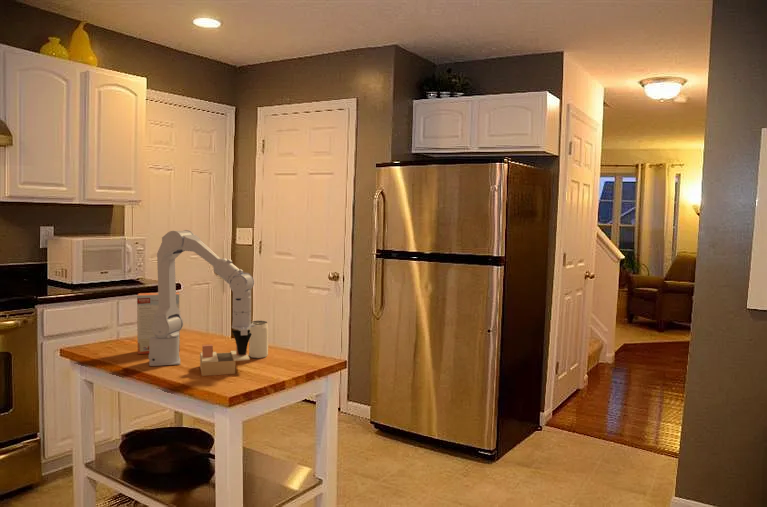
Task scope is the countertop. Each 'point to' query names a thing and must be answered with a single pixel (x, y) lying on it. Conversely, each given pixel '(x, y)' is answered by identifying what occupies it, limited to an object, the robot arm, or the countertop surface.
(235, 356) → the right flap
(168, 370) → the countertop surface
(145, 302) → the cracker box
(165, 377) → the countertop surface
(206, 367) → the carton
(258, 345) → the can
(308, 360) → the countertop surface
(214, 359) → the left flap
